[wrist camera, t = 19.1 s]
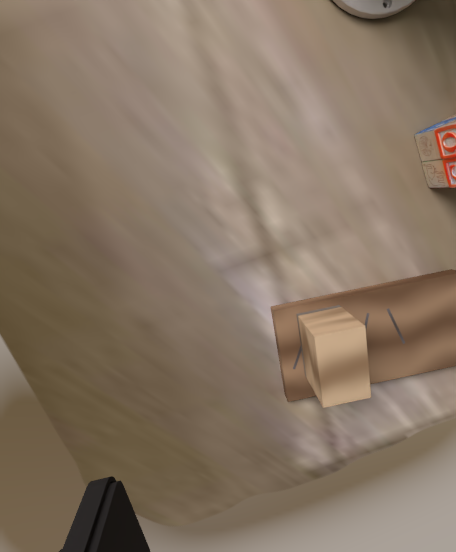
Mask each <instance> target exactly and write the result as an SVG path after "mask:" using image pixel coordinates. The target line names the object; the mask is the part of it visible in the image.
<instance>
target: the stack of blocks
mask: <svg viewBox="0 0 456 552" xmlns="http://www.w3.org/2000/svg"><path fill="white" fill-rule="evenodd" d="M415 139H416V143H417V147H418V150H419V154H420V158H421V161H422V166H423V170H424V173H425V177H426V180H427V183H428V186H429V188H443V187H444V188H445V187H450V188H456V114H455V115H453V116H451V117H449V118H447V119H445V120H443V121H441V122H440V123H438V124H435V125H433V126H431V127H429V128H427V129H425V130H423V131H421V132H419V133H417V134H415Z"/></svg>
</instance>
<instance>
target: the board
mask: <svg viewBox="0 0 456 552" xmlns="http://www.w3.org/2000/svg"><path fill="white" fill-rule="evenodd" d="M337 305H340V306H341V307H342V308H344V309H345V310H346V311H347V312H349V313H350V314H351V315H352V316H353V317H355V318H356V319H357V320H358V321H360V322H361V323H362V324H363V325H365V328H366V341H367V353H368V365H369V377H370V384H374V383H378V382H383V381H387V380H392V379H397V378H401V377H406V376H411V375H415V374H420V373H425V372H429V371H434V370H439V369H443V368H448V367H453V366H456V271H455V270H452V269H451V270H446V271H441V272H437V273H432V274H427V275H422V276H417V277H412V278H407V279H403V280H398V281H393V282H388V283H383V284H378V285H373V286H369V287H364V288H359V289H354V290H349V291H344V292H340V293H335V294H330V295H325V296H320V297H315V298H310V299H306V300H301V301H296V302H291V303H286V304H281V305H276V306H272V307H271V312H272V318H273V324H274V330H275V336H276V342H277V349H278V355H279V361H280V367H281V373H282V379H283V386H284V392H285V396H286V398H287V401H288V402H290V401H295V400H299V399H304V398H308V397H313V396H316V394H315V392H314V390H313V388H312V387H311V385H310V383H309V381H308V380H307V378H306V376H305V371H304V364H303V357H302V350H301V343H300V336H299V329H298V322H297V315H296V314H299V313H303V312H308V311H313V310H318V309H323V308H327V307H332V306H337Z"/></svg>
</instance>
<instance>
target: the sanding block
mask: <svg viewBox="0 0 456 552" xmlns="http://www.w3.org/2000/svg"><path fill="white" fill-rule="evenodd" d="M296 315H297V322H298V329H299V336H300V343H301V350H302V357H303V364H304V371H305V376H306V378H307V380H308V381H309V383H310V385H311V387H312V388H313V390H314V392H315V394H316V396H317V397H318V399H319V401H320V403H321V404H322V406H323V408H325V407H329V406H334V405H339V404H343V403H348V402H353V401H357V400H362V399H366V398H371V389H370V377H369V365H368V353H367V341H366V328H365V325H363V324H362V323H361V322H360V321H358V320H357V319H356V318H355V317H353V316H352V315H351V314H350V313H349V312H347V311H346V310H345V309H344V308H342V307H341V306H340V305H337V306H332V307H327V308H323V309H318V310H313V311H308V312H303V313H299V314H296Z"/></svg>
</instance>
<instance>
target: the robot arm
mask: <svg viewBox="0 0 456 552" xmlns="http://www.w3.org/2000/svg"><path fill="white" fill-rule="evenodd" d="M333 1H334V2H335V3H336V4H337V5H338V6H339V7H340V8H342V9H343V10H345V11H347V12H348V13H350V14H352V15H355V16H358V17H361V18H369V19H377V18H385V17H388V16H391V15H394V14H397V13H399V12H400V11H402V10H404V9H405V8H407V7H409V6H410V5H411V4H412V3H413V2H414V1H416V0H333ZM383 6H384V7H383ZM59 552H150V549H149V547H148V544H147V542H146V540H145V537H144V534H143V532H142V530H141V527H140V525H139V522H138V520H137V517H136V515H135V512H134V510H133V508H132V505H131V503H130V500H129V498H128V495H127V493H126V491H125V488H124V486H123V483H122V482H121V481H117V482H116V480H115V478H114V477H113V476H112V477H108V478H103V479H99V480H95V481H91V482H90V483H89V484H88V486H87V488H86V491H85V493H84V496H83V498H82V501H81V503H80V506H79V508H78V511H77V513H76V516H75V519H74V521H73V524H72V526H71V529H70V531H69V534H68V536H67V539H66V542H65V544H64V547H63V549H61V550H60V551H59Z"/></svg>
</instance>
